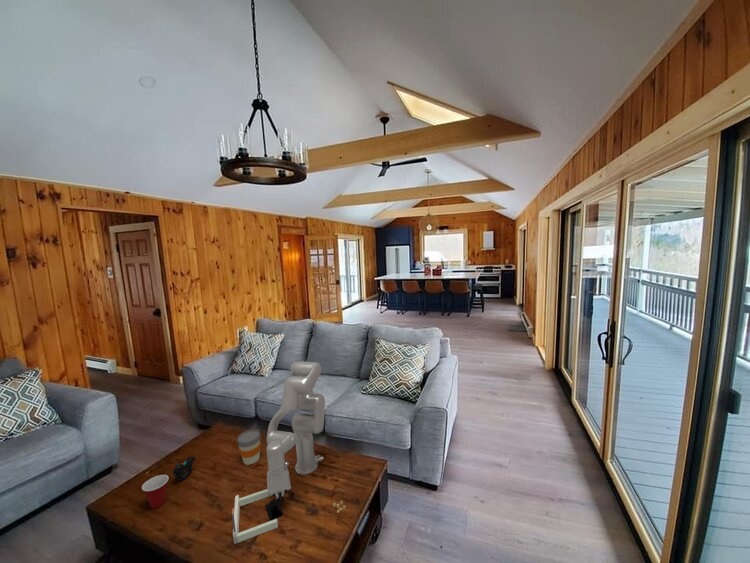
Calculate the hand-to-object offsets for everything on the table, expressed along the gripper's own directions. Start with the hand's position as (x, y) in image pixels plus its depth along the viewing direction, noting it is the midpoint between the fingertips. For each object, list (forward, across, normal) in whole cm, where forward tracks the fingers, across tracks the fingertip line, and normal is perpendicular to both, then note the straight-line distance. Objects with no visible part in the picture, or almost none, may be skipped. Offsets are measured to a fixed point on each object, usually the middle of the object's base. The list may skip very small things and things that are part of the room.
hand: (280, 502), depth 144 cm
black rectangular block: (+3, +3, 0) cm, 4 cm away
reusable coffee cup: (+2, +13, -42) cm, 44 cm away
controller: (+2, +47, -45) cm, 65 cm away
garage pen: (+2, +11, 0) cm, 12 cm away
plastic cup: (+3, +56, -30) cm, 64 cm away
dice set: (+3, -26, +13) cm, 29 cm away
